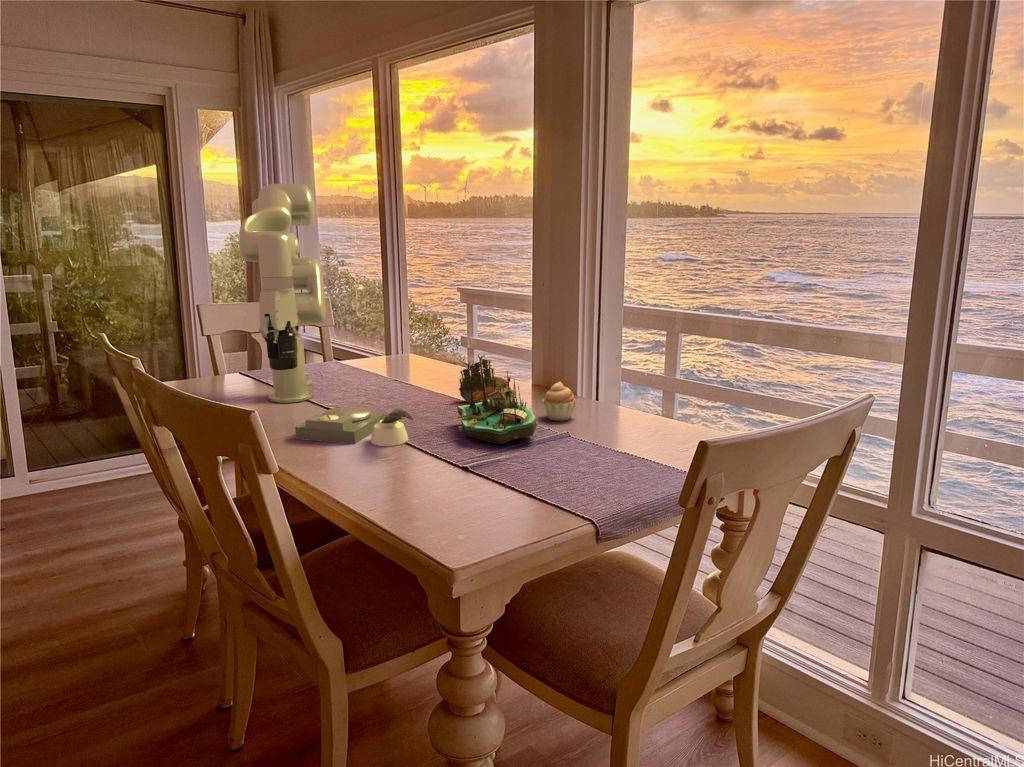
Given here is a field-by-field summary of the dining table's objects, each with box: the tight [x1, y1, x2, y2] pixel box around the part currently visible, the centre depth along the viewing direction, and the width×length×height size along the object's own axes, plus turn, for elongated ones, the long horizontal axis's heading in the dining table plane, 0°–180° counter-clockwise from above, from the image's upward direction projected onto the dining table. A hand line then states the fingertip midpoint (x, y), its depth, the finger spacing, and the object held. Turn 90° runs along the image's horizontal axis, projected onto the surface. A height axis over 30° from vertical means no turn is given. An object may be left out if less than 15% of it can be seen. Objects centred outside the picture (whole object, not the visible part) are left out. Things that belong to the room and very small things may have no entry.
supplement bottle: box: [268, 321, 298, 370], centre depth 180 cm, size 7×7×12 cm
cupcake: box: [541, 381, 578, 422], centre depth 192 cm, size 9×9×10 cm
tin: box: [459, 375, 508, 404], centre depth 208 cm, size 15×3×8 cm, turn 68°
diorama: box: [456, 354, 539, 445], centre depth 178 cm, size 19×25×19 cm
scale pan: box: [322, 405, 371, 422], centre depth 185 cm, size 12×12×1 cm
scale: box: [294, 411, 388, 445], centre depth 183 cm, size 18×16×6 cm
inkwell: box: [369, 407, 414, 447], centre depth 171 cm, size 9×18×10 cm, turn 37°
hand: (283, 355), depth 180 cm, fingers closed on supplement bottle, 6 cm apart
